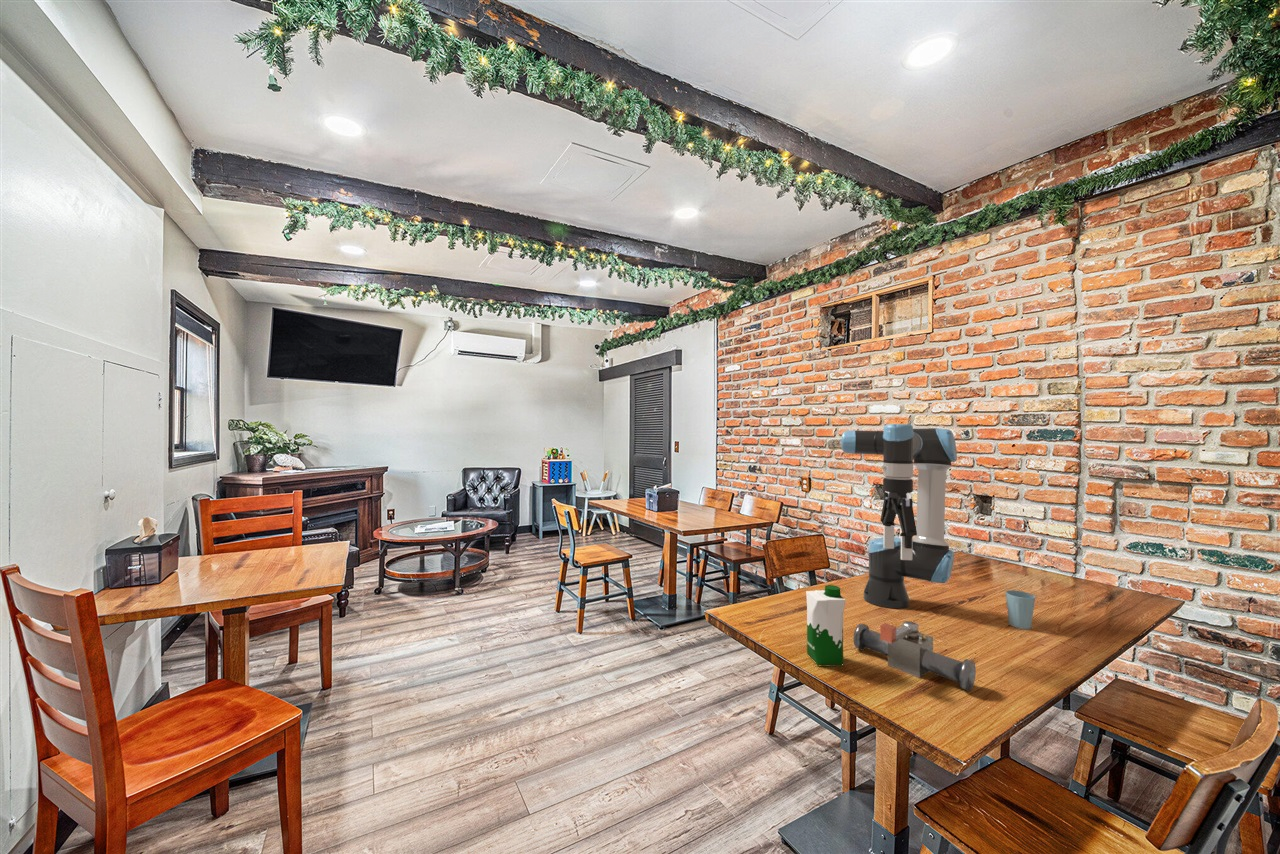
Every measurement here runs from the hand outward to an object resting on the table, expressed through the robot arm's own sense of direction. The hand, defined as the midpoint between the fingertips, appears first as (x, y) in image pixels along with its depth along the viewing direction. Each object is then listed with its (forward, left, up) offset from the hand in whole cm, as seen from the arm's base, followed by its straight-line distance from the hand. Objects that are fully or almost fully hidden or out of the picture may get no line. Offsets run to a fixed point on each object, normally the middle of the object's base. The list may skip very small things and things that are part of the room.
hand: (897, 553), depth 137 cm
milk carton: (-10, -20, -29) cm, 36 cm away
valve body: (+6, -5, -28) cm, 29 cm away
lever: (+6, -11, -19) cm, 22 cm away
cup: (+15, +53, -29) cm, 62 cm away
